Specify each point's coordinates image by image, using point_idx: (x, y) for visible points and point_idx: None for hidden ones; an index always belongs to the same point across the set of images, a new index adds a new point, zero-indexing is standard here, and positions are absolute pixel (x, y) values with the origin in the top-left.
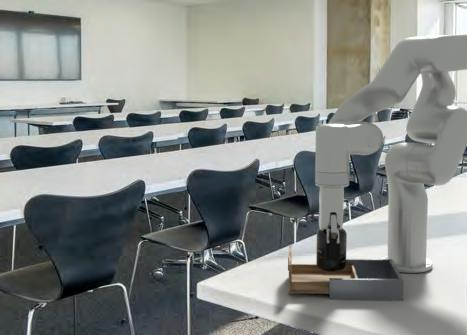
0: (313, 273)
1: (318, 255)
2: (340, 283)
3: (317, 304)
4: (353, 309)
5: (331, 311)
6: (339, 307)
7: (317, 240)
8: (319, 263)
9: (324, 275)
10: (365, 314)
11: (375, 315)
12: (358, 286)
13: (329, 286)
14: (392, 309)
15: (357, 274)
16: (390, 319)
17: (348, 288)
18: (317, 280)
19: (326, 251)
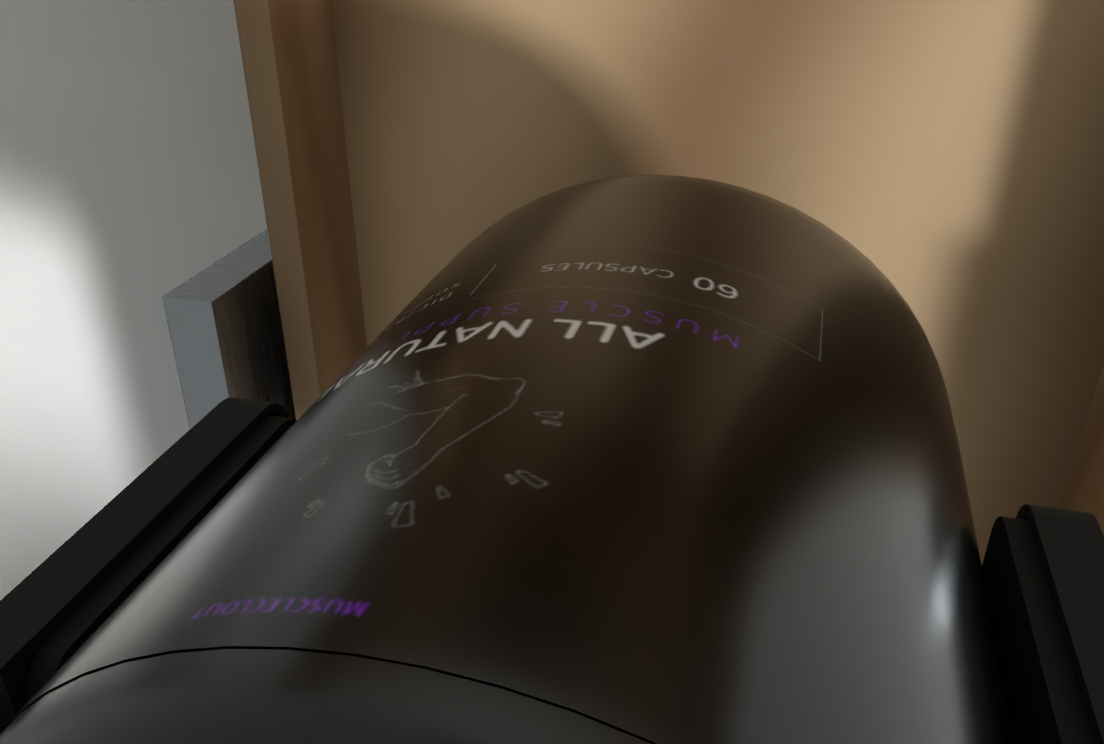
0: (1096, 82)
1: (444, 295)
2: None
3: (149, 39)
4: (120, 382)
5: (16, 173)
6: (131, 268)
7: (333, 505)
8: (472, 245)
9: (944, 260)
10: (47, 449)
11: (52, 513)
12: None
13: (265, 256)
14: None
15: None
16: (18, 584)
17: None
18: (704, 118)
19: (126, 518)
